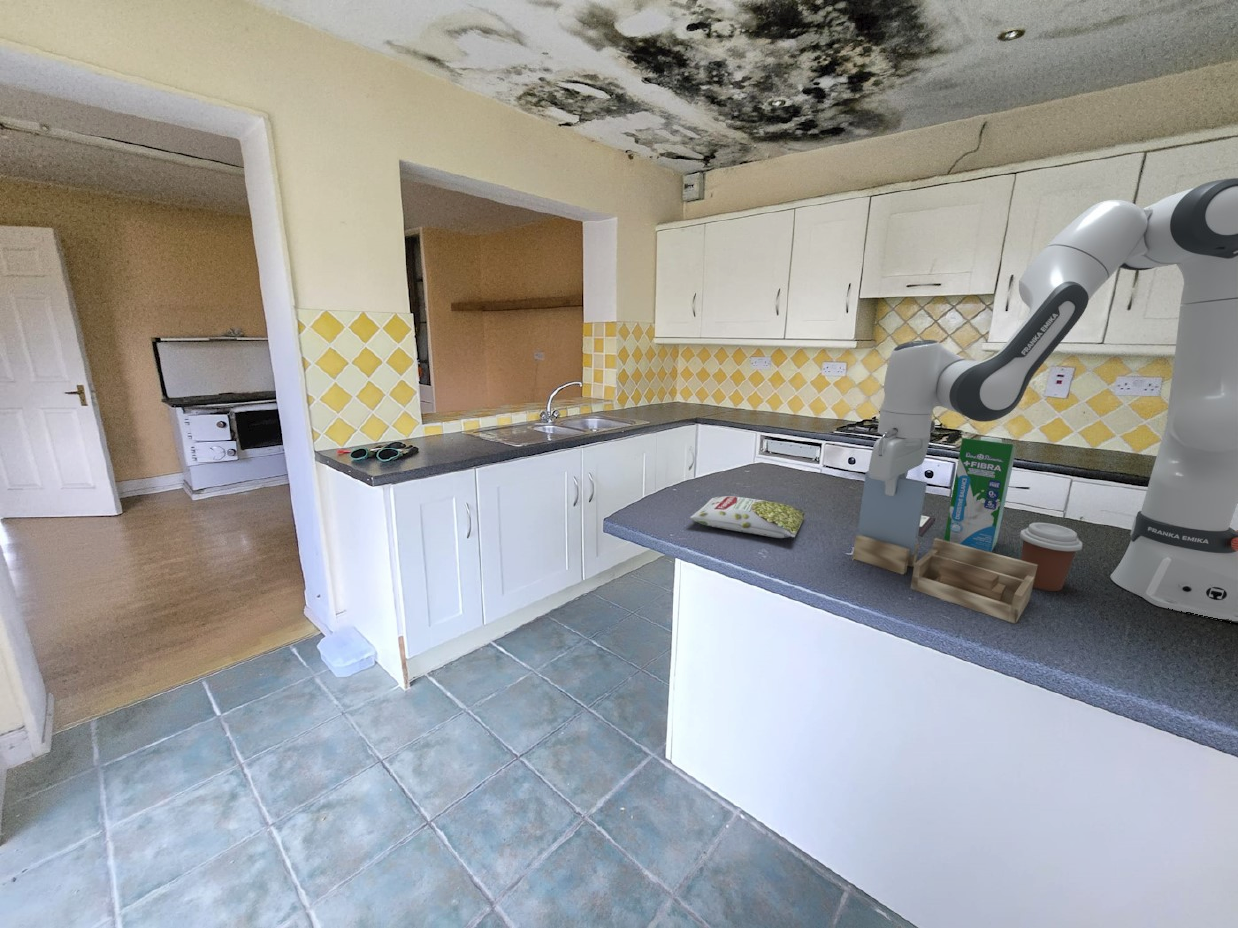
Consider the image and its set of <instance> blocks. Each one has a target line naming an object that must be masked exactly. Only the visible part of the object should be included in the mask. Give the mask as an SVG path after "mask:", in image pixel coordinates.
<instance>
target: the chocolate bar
mask: <svg viewBox="0 0 1238 928" xmlns="http://www.w3.org/2000/svg"><path fill="white" fill-rule="evenodd" d="M935 522H936V517H932V516H931V517H930V516H926V515H921V521H920V526H919V532H918V537H921V538H923V536H924V535H925V534H926V532H927V531H928V530H930V529H929V528H930V527H932V525H933V524H934V523H935Z"/></svg>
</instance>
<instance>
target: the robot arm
mask: <svg viewBox="0 0 1238 928" xmlns="http://www.w3.org/2000/svg"><path fill="white" fill-rule="evenodd" d="M1173 265H1176V267H1178V269H1179V270H1180V272H1181V274H1182V275H1181V276H1182V278H1183V287H1182V292H1181V296H1180V297H1181V298H1180V306H1179V314H1178V322H1177V323H1178V324H1177V332H1176V333H1177V334H1176V343H1175V348H1174V349H1175V351H1174V358H1173V367H1172V368H1173V369H1172V373H1171V381H1170V382H1171V383H1170V390H1169V391H1170V392H1169V399H1168V407H1167V414H1166V415H1167V416H1166V423H1165V427H1164V429H1163V434H1162V437H1161V441H1160V444H1159V448H1158V451H1157V454H1156V458H1155V460H1154V465H1153V467H1152V471H1151V474H1150V478H1149V482H1148V486H1147V488H1146V492H1145V496H1144V499H1143V502H1142V505H1141V510H1139V511H1138V512H1137V513H1136V516H1135V517H1134V519H1133V523H1132V525H1131V526H1132V527H1131V530H1130V542H1129V545H1128V547H1127V549H1126V552H1125V554H1124V555H1123V557H1122V559H1121V561H1120V563H1119V564H1118V565H1117V567H1116V568H1115V569H1114V571H1113V572H1112V573H1111V574H1110V579H1111V580H1112V582H1114V583H1115V584H1116V585H1118V586H1119V587H1121V588H1122V589H1124V590H1126V591H1129V592H1130V593H1132V594H1134V595H1137V596H1139V597H1142V598H1143V599H1144V600H1146V601H1147V602H1148V603H1150V604H1152V605H1154V606H1157V607H1160V608H1164V609H1168V608H1169V609H1168V610H1172V609H1173V611H1178V612H1181V611H1182V613H1186V612H1191V613H1194V614H1193V615H1195V614H1198V615H1197V616H1199V615H1203V616H1202V617H1204V616H1208V617H1213V618H1218V619H1229V620H1232V621H1238V530H1237V529H1236V530H1235V529H1233V528H1232V527H1230V525H1231V523H1232V520H1233V517H1234V515H1235V511H1236V508H1237V504H1238V177H1234V178H1233V177H1232V178H1222V179H1217V180H1212V181H1208V182H1206V183H1202V184H1200V185H1198V186H1196V187H1193V188H1189V189H1185V190H1183V191H1180V192H1177V193H1174V194H1172V195H1169V196H1165V197H1164V198H1162V199H1159V201H1156V202H1155V203H1153V204H1150V205H1148V206H1146V207H1144V208H1143V207H1142V208H1141V207H1139V206H1138V205H1137V204H1135V203H1133V202H1131V201H1127V200H1123V199H1108V200H1104V201H1101V202H1097V203H1096V204H1094V205H1092V206H1091V207H1088V208H1087V210H1085V211H1084V212H1081V214H1080V215H1079V216H1077V217H1076V218H1075V219H1073V221H1071V222H1070V223H1069V224H1068V225H1066V226H1065V228H1063V229H1062V230H1061V231H1060V232H1059V233H1057V235H1056V236H1055V237H1054V238H1053V239H1052V240H1051V241H1050V242H1049V243H1047V245H1046V246H1045V247H1044V248H1043V249H1042V250H1041V251H1040V252H1039V254H1038V255H1037V256H1035V258H1034V259H1033V260H1031V262H1030V263H1029V265H1028V266H1027V268H1026V269H1025V270H1024V272H1023V274H1022V275H1021V277H1020V279H1019V280H1018V292H1019V295H1020V298H1021V300H1022V302H1023V303H1024V304H1025V305H1026V306H1027V308H1029V312H1028V314H1027V317H1026V318H1025V320H1024V321H1023V322H1022V323H1021V324H1020V326H1019V327H1018V328H1017V329H1016V330H1015V332H1014V333H1013V334H1012V335H1011V336H1010V338H1009V339H1008V340H1007V341H1006V343H1005V344H1004V345H1003V346H1002V347H1001V349H1000V350H999V351H998V352H997V353H995V354H994V355H992V356H990V357H989V358H987V359H984V360H975V359H969V358H966V357H965V356H964V357H963V356H961V355H959V354H956V353H955V352H953V351H951V350H949V349H947V348H946V347H944V346H943V345H942V344H941V343H940V342H939V341H938V340H935V339H934V340H933V339H924V340H923V339H922V340H912V341H907V342H903V343H901V344H899V345H897V346H895V348H894V349H893V350H892V351H891V354H890V356H889V359H888V363H887V367H886V370H885V376H884V377H885V378H884V381H883V391H884V398H883V401H882V404H881V405H880V410H879V417H878V418H879V419H878V426H877V433H878V434H880V435H881V438H878V439H876V440H875V442H874V444H873V447H872V451H871V455H870V460H869V466H868V474H869V477H870V478H872V479H876V480H881V481H884V482H885V486H886V487H885V494H886V495H889V496H894V495H895V494H896V493H897V488H898V487H897V486H896V484H897V480H898V477H903V478H908V472H909V471H912V470H913V469H915V468H917V467H919V466H921V465H922V464H923V463H924V461H925V459H926V457H927V453H928V448H929V444H930V440H931V433H933V432H934V431H935V429H936V421H935V420H934V419H932V417H933V411H934V409H935V408H937V407H940V408H944V409H947V410H949V411H952V412H954V413H959V414H960V415H962V416H963V417H966V418H968V419H970V420H973V421H976V422H983V423H985V422H986V423H987V422H993V421H997V420H999V419H1002V418H1003V417H1005V416H1007V415H1010V413H1011V412H1012V411H1014V410H1015V409H1016V408H1017V406H1018V405H1019V404H1020V402H1021V401H1022V398H1023V396H1024V395H1025V392H1026V390H1027V389H1028V386H1029V383H1030V382H1031V380H1032V379H1033V377H1034V375H1035V374H1036V372H1037V371H1038V370H1039V369H1040V367H1041V366H1042V365H1043V364H1044V363H1045V362H1046V361H1047V359H1048V358H1049V357H1050V356H1051V354H1052V353H1053V352H1054V351H1055V350H1056V348H1058V346H1059V345H1060V344H1061V342H1063V340H1064V339H1065V338H1066V336H1068V334H1069V332H1071V330H1073V328H1074V327H1075V325H1077V322H1078V321H1079V320H1080V319H1081V317H1082V316H1083V314H1084V312H1085V310H1086V308H1087V307H1088V303H1089V301H1090V300H1091V299H1092V297H1093V296H1094V295H1095V293H1097V291H1098V290H1099V289H1100V288H1101V287H1102V285H1103V286H1104V284H1105V283H1106V282H1107V281H1108V280H1109V278H1111V277H1112V276H1113V274H1114V273H1115V272H1117V270H1118V269H1122V270H1128V271H1148V270H1152V269H1154V268H1161V267H1167V266H1173ZM1208 617H1207V618H1208ZM1213 618H1212V619H1213Z"/></svg>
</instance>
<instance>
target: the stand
mask: <svg viewBox="0 0 1238 928" xmlns="http://www.w3.org/2000/svg"><path fill="white" fill-rule="evenodd" d="M854 537H855V538H854V543H853V545H854V546H853V552H852V559H851V561H852V562H853V561H854V560H857V561H860V562H863V563H865V564H870V565H872V566H876V567H878V568H881V569H885V570H887V571H891V572H895V573H897V574H900V575H904V574H905V573H907V572H908V566H909V567H913V568H914V564H915V563H916V562H917V558H918V550H919V546H920V542H918V541H917V544H916V550H915V554H914V555H912V556H911V555H909V553H910V549H907V548H904V547H900V546H897V545H893V544H890V543H886V542H883V541H879V540H876V539H872V538H869V537H865V536H862V535H858V536H857V535H856V536H854Z"/></svg>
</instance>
